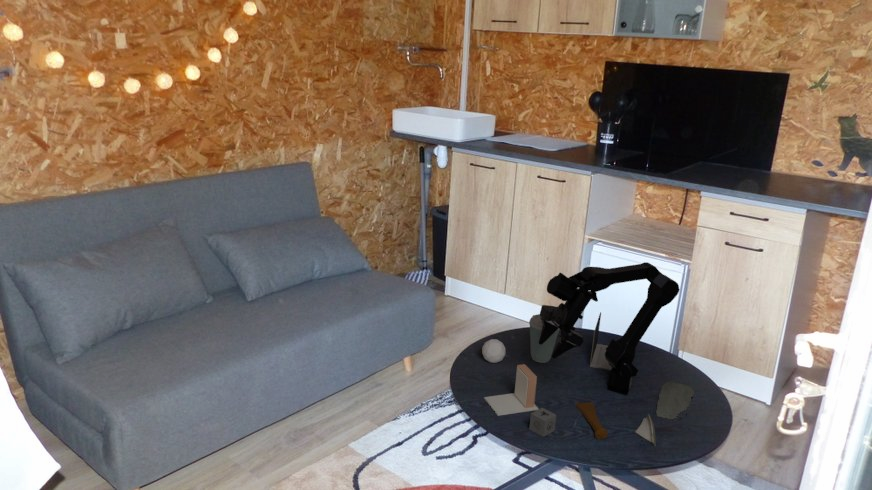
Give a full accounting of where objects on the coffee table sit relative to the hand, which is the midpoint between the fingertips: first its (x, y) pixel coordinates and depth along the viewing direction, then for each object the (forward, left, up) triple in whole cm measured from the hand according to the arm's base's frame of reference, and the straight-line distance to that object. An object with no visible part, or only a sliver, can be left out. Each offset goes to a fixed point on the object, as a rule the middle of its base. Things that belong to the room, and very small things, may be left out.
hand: (546, 350), depth 207 cm
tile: (+3, +6, -15) cm, 16 cm away
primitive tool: (-17, +5, -16) cm, 24 cm away
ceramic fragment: (-33, +1, -16) cm, 36 cm away
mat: (+6, +10, -15) cm, 19 cm away
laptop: (-11, -38, -16) cm, 42 cm away
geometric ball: (+22, -13, -15) cm, 30 cm away
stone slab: (-36, -20, -16) cm, 44 cm away
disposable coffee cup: (+9, -24, -15) cm, 30 cm away
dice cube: (-7, +17, -16) cm, 24 cm away
